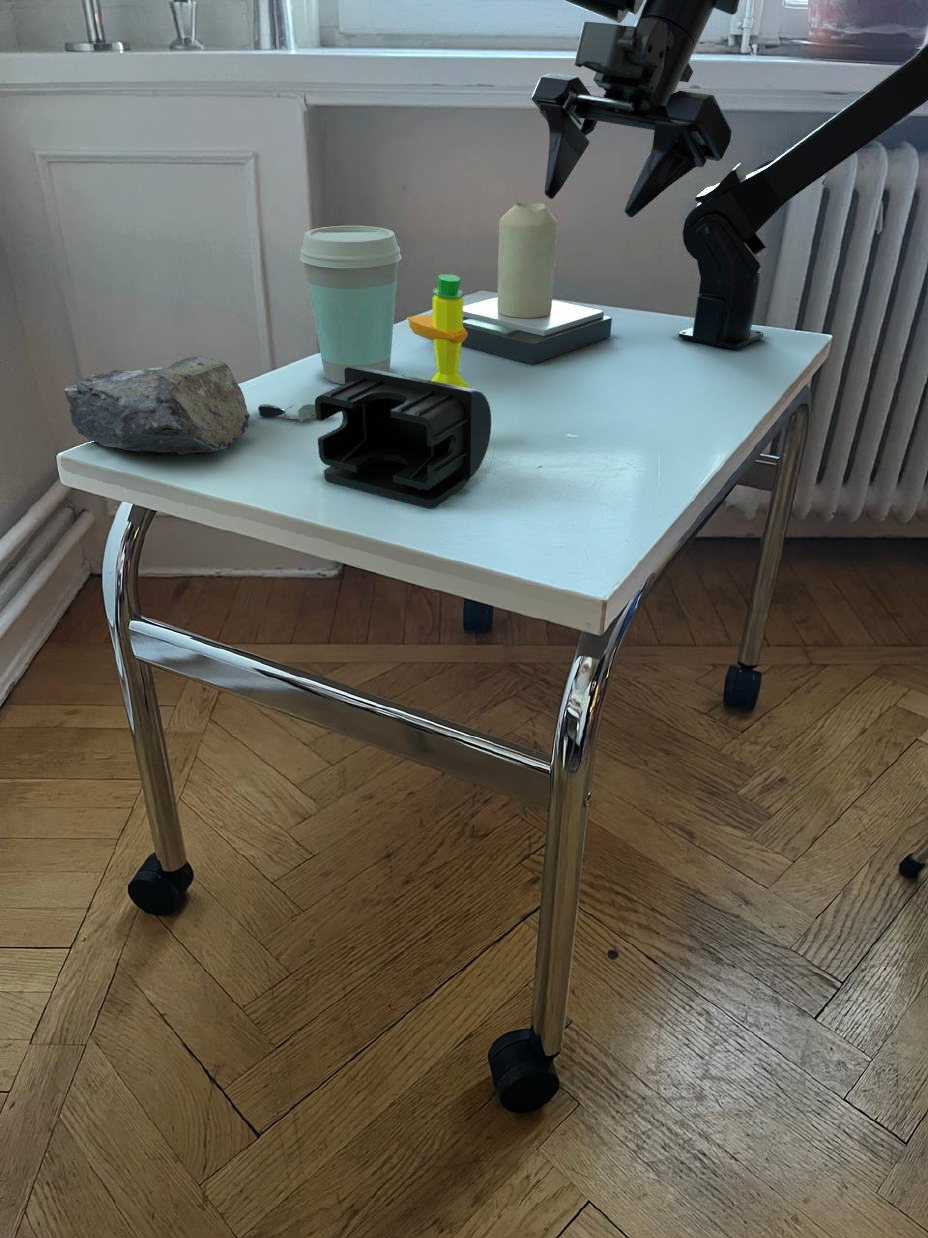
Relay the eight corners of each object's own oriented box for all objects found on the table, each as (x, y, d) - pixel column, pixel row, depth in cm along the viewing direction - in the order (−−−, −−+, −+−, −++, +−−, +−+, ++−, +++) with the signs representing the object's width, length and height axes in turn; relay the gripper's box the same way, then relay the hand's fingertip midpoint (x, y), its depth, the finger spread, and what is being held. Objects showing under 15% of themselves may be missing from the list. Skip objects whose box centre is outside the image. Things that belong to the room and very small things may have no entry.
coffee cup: (420, 368, 84) (418, 229, 78) (375, 396, 78) (369, 246, 71) (340, 356, 87) (332, 221, 81) (290, 382, 80) (277, 236, 74)
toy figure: (395, 431, 71) (390, 269, 64) (430, 421, 73) (428, 262, 66) (453, 457, 66) (454, 286, 60) (488, 445, 69) (493, 278, 62)
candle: (522, 321, 89) (527, 210, 83) (485, 310, 92) (488, 202, 87) (563, 312, 92) (570, 204, 86) (525, 302, 95) (530, 197, 90)
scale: (512, 314, 101) (513, 290, 100) (610, 337, 94) (612, 311, 92) (431, 338, 93) (431, 311, 91) (532, 364, 86) (533, 336, 84)
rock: (266, 422, 73) (261, 354, 70) (216, 473, 63) (207, 396, 60) (93, 410, 74) (81, 343, 71) (18, 459, 64) (1, 383, 61)
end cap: (491, 473, 64) (494, 378, 60) (439, 511, 59) (439, 410, 55) (373, 445, 68) (369, 355, 65) (315, 479, 63) (307, 382, 59)
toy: (224, 428, 72) (227, 417, 73) (326, 422, 72) (327, 411, 74) (221, 413, 71) (224, 403, 73) (324, 407, 71) (325, 396, 73)
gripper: (541, -32, 80) (465, 141, 82) (728, -22, 70) (636, 175, 72) (595, 50, 89) (526, 203, 91) (768, 69, 79) (685, 242, 81)
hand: (586, 205), depth 84 cm, fingers open, 9 cm apart
